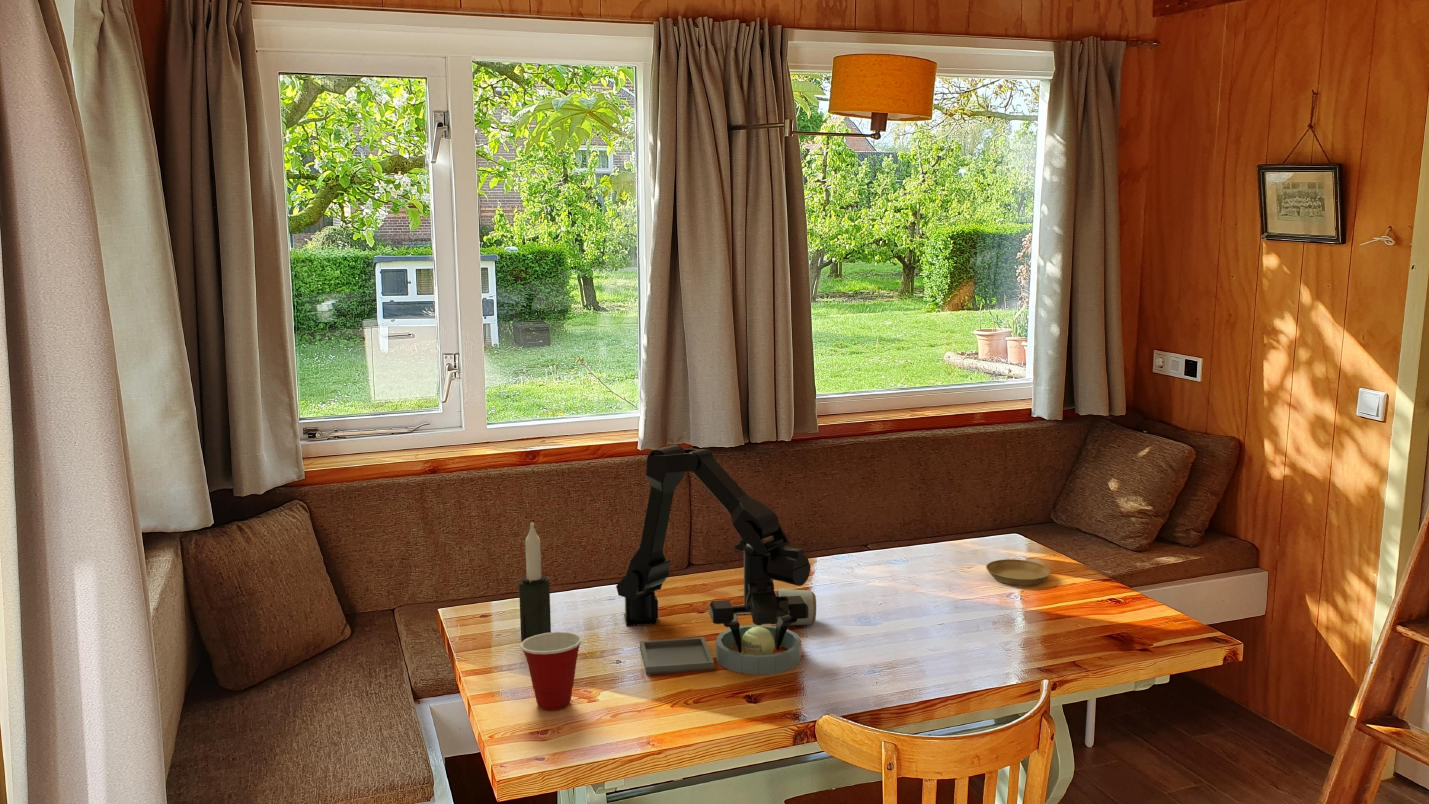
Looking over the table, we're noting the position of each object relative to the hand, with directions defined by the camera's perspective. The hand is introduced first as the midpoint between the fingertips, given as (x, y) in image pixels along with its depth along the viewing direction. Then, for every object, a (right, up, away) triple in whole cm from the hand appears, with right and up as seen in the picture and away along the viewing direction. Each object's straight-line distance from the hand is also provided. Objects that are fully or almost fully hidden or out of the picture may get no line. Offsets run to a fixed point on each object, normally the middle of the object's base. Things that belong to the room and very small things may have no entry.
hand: (758, 651), depth 214 cm
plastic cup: (-37, -5, -20) cm, 42 cm away
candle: (-45, 0, +9) cm, 46 cm away
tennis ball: (0, -1, 0) cm, 2 cm away
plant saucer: (+63, +6, +46) cm, 79 cm away
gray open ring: (0, -1, 0) cm, 1 cm away
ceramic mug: (+8, +2, +19) cm, 21 cm away
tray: (-16, -1, 0) cm, 16 cm away
